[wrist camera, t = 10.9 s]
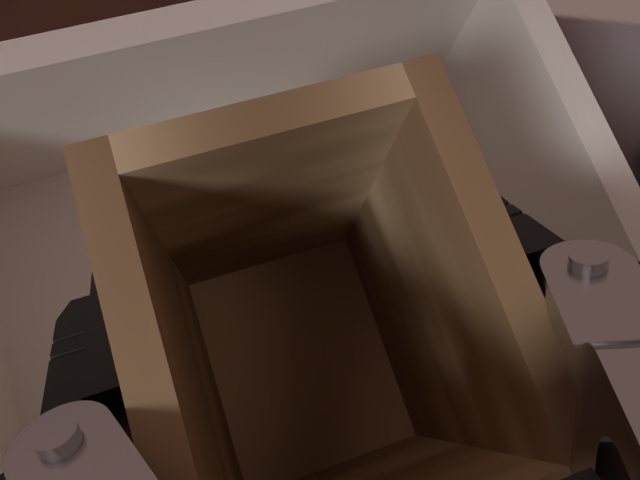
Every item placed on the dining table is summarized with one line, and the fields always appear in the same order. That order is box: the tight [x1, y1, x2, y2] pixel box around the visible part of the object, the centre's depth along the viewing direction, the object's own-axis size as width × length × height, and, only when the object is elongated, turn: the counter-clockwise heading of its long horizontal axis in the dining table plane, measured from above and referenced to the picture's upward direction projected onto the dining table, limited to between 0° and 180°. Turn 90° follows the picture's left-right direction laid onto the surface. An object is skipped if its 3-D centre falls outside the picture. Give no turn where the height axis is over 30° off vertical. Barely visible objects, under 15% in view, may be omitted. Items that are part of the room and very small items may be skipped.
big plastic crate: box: [0, 0, 640, 474], centre depth 14 cm, size 16×16×6 cm
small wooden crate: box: [62, 53, 576, 480], centre depth 11 cm, size 6×6×8 cm
